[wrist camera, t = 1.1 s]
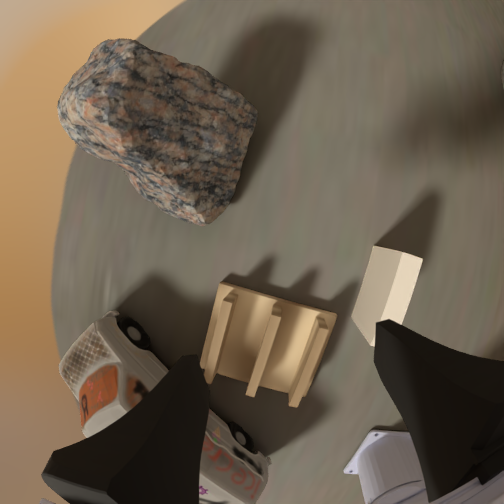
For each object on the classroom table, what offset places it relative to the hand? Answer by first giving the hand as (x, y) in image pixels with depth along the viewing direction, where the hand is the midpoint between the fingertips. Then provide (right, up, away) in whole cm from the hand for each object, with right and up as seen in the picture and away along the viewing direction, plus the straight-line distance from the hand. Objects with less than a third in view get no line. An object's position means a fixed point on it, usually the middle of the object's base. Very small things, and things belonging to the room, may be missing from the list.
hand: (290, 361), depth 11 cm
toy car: (-11, -14, +18) cm, 25 cm away
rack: (0, -4, +16) cm, 17 cm away
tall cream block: (+10, +1, +14) cm, 17 cm away
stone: (-7, +13, +16) cm, 21 cm away
